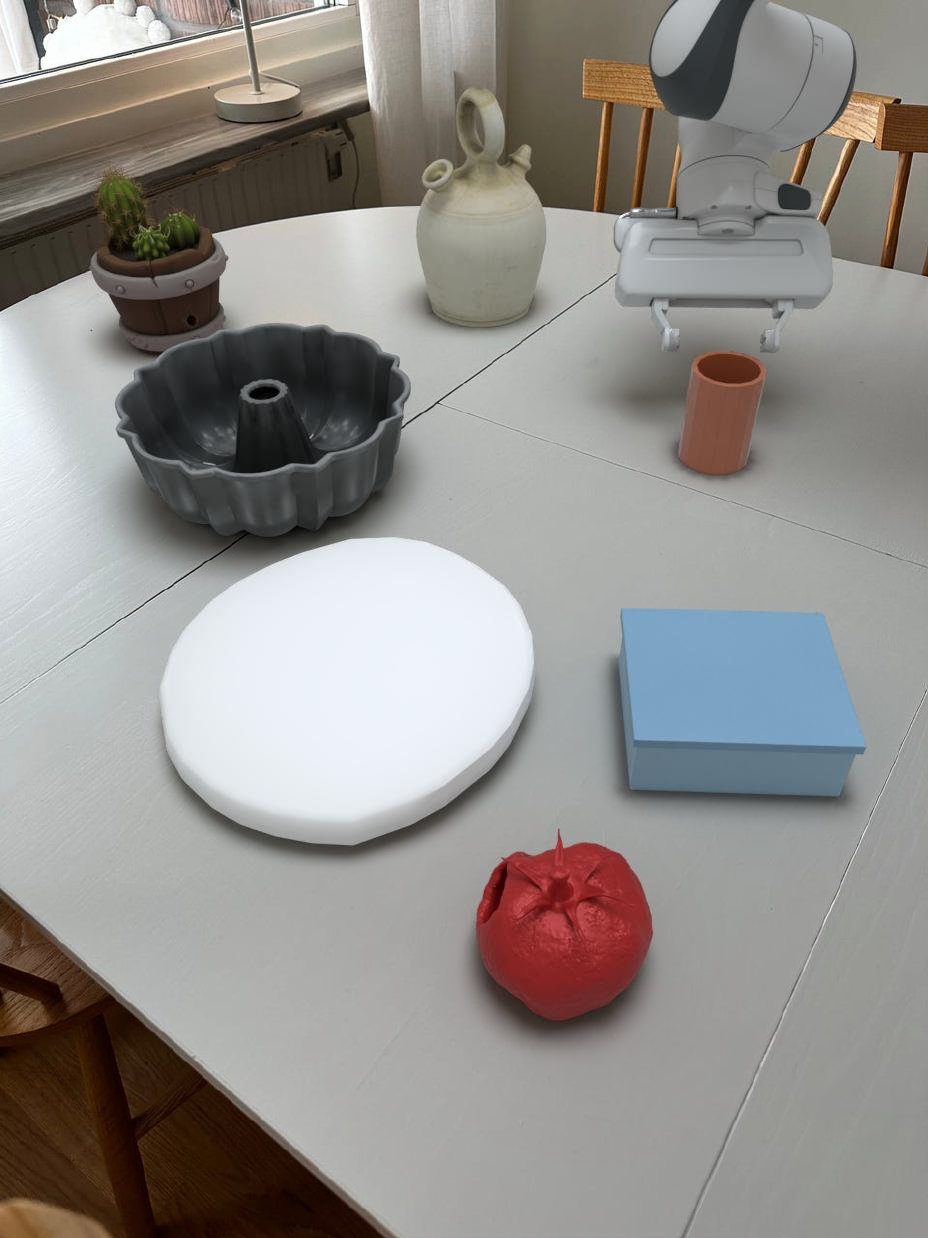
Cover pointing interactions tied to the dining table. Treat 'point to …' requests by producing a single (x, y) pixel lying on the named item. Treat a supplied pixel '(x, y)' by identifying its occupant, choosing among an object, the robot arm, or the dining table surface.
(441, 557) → the plate
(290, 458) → the bundt pan
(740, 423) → the cup
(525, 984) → the pomegranate
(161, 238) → the flowerpot
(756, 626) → the container
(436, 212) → the jug
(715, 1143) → the dining table surface
